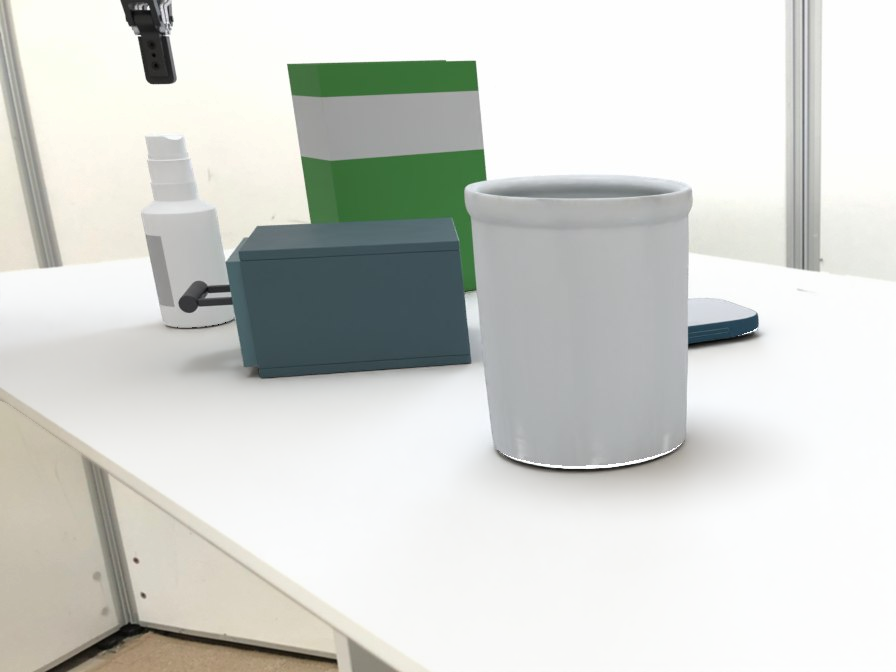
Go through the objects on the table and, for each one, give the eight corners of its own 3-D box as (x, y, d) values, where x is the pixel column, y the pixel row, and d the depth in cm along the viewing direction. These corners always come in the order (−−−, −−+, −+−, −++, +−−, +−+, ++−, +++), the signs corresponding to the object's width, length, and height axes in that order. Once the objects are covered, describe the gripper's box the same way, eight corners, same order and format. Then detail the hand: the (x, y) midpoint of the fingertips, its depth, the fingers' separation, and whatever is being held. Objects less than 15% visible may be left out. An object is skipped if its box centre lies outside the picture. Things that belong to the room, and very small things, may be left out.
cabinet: (260, 378, 101) (238, 251, 97) (275, 339, 114) (256, 225, 110) (471, 363, 105) (459, 240, 101) (463, 327, 118) (451, 217, 114)
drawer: (183, 371, 100) (162, 264, 96) (206, 335, 112) (188, 239, 108) (443, 353, 105) (432, 251, 101) (438, 321, 117) (428, 229, 113)
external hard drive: (713, 314, 123) (712, 295, 122) (771, 336, 113) (771, 315, 113) (492, 343, 112) (490, 322, 111) (537, 370, 103) (535, 347, 102)
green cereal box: (464, 277, 142) (441, 60, 133) (496, 286, 137) (475, 60, 128) (322, 298, 132) (286, 63, 122) (351, 308, 127) (317, 64, 117)
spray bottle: (206, 311, 126) (172, 131, 119) (250, 318, 123) (217, 133, 116) (148, 324, 121) (109, 136, 113) (193, 331, 117) (155, 138, 110)
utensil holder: (648, 400, 94) (639, 167, 87) (733, 453, 82) (730, 188, 75) (463, 427, 88) (438, 179, 81) (526, 489, 76) (502, 204, 69)
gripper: (85, -143, 99) (129, 82, 106) (43, -167, 87) (96, 87, 94) (182, -141, 101) (220, 80, 108) (154, -164, 89) (198, 86, 96)
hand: (162, 83), depth 101 cm, fingers closed
